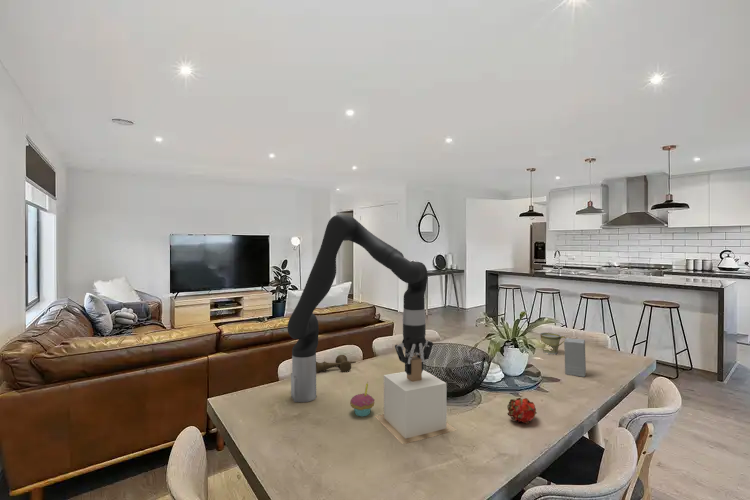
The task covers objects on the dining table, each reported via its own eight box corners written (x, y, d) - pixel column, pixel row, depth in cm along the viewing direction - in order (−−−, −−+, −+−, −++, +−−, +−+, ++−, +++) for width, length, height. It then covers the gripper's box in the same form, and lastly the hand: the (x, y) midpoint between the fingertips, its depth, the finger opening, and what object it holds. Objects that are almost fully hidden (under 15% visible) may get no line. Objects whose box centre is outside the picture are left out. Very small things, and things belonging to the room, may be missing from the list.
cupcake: (375, 409, 137) (375, 377, 137) (373, 421, 129) (372, 386, 129) (352, 408, 138) (352, 376, 138) (348, 420, 130) (348, 385, 129)
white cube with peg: (405, 438, 116) (405, 368, 116) (383, 417, 130) (383, 354, 129) (446, 428, 123) (446, 361, 122) (421, 409, 136) (421, 349, 136)
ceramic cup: (543, 355, 201) (543, 336, 201) (538, 349, 211) (538, 332, 211) (569, 356, 199) (569, 337, 199) (562, 350, 209) (563, 332, 209)
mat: (402, 446, 113) (402, 444, 113) (374, 417, 131) (374, 416, 131) (457, 431, 121) (457, 430, 121) (423, 407, 140) (423, 405, 140)
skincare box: (585, 373, 174) (586, 339, 174) (584, 378, 168) (585, 342, 167) (565, 370, 178) (565, 336, 178) (563, 374, 172) (564, 340, 172)
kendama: (313, 370, 182) (353, 364, 188) (317, 377, 172) (359, 371, 179) (313, 357, 181) (353, 352, 188) (316, 364, 172) (358, 359, 178)
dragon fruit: (505, 428, 127) (531, 425, 132) (523, 422, 121) (549, 419, 126) (497, 402, 131) (522, 400, 137) (514, 394, 125) (539, 393, 131)
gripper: (400, 326, 119) (400, 380, 119) (438, 322, 125) (438, 373, 125) (390, 321, 126) (390, 373, 126) (426, 318, 132) (426, 366, 132)
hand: (414, 373), depth 126 cm, fingers closed on white cube with peg, 3 cm apart
